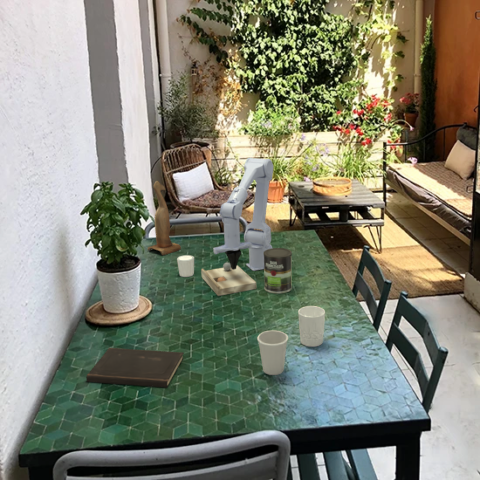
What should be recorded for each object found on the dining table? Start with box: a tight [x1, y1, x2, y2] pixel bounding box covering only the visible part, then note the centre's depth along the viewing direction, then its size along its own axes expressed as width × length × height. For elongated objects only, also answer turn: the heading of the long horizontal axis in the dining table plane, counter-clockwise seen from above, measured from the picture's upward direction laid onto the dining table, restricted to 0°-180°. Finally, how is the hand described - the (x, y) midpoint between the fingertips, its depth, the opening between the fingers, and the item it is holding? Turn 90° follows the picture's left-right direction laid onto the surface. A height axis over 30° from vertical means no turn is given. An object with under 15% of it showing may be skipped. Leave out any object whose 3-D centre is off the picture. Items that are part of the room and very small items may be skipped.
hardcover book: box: [86, 347, 184, 389], centre depth 164 cm, size 16×23×2 cm
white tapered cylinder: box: [176, 254, 195, 278], centre depth 232 cm, size 7×7×7 cm
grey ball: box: [222, 262, 231, 271], centre depth 228 cm, size 3×3×3 cm
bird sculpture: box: [147, 180, 182, 256], centre depth 258 cm, size 11×12×32 cm
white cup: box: [297, 305, 326, 348], centre depth 174 cm, size 8×8×10 cm
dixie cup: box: [256, 330, 289, 376], centre depth 160 cm, size 8×8×10 cm
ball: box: [217, 277, 226, 282], centre depth 220 cm, size 3×3×3 cm
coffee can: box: [263, 247, 293, 294], centre depth 214 cm, size 10×10×14 cm
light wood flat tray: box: [200, 265, 257, 297], centre depth 222 cm, size 15×20×4 cm
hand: (233, 268), depth 221 cm, fingers closed
